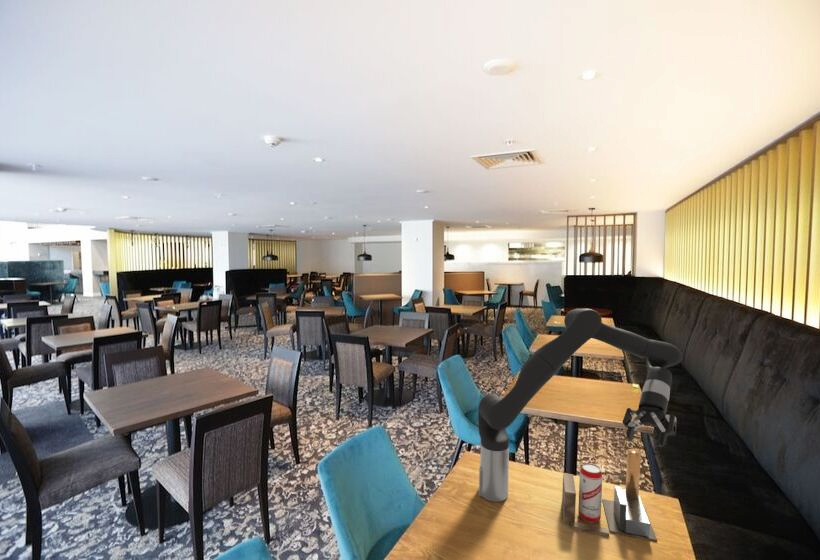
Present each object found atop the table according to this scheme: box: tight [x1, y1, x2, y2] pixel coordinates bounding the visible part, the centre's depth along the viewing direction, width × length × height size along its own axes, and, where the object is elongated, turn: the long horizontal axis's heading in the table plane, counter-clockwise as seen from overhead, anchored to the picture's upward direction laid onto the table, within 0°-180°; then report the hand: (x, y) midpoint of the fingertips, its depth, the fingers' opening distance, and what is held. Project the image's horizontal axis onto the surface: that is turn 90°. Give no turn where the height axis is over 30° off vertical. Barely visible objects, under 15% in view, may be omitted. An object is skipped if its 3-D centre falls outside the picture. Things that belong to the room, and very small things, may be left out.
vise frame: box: [561, 472, 658, 542], centre depth 122 cm, size 24×17×10 cm
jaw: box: [613, 448, 651, 537], centre depth 120 cm, size 8×15×18 cm, turn 162°
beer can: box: [577, 462, 603, 524], centre depth 121 cm, size 6×6×16 cm
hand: (644, 442), depth 121 cm, fingers open, 8 cm apart
